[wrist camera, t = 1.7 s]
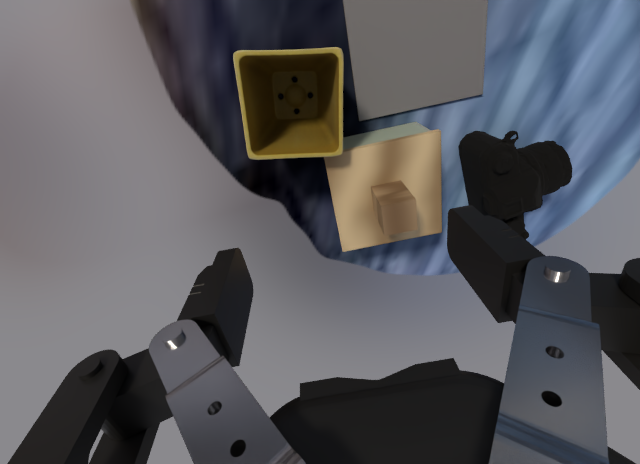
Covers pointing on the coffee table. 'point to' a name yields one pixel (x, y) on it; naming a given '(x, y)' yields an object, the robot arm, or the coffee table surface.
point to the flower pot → (291, 102)
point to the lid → (387, 190)
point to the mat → (415, 52)
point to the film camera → (511, 175)
